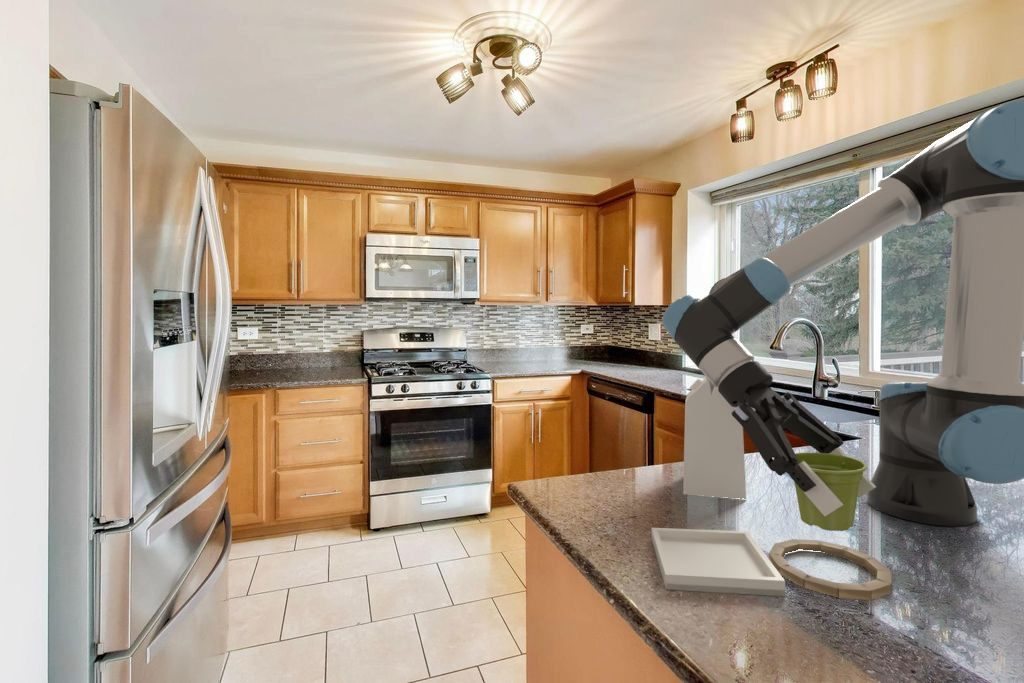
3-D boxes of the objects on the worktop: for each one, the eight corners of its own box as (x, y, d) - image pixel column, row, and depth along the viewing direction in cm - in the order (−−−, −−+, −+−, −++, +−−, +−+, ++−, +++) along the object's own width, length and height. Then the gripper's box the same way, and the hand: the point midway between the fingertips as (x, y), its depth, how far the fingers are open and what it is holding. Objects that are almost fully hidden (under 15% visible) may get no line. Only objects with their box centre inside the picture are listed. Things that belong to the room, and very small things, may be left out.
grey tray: (748, 544, 77) (748, 531, 77) (785, 596, 62) (785, 580, 62) (651, 539, 79) (651, 527, 79) (665, 589, 64) (665, 574, 64)
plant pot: (776, 509, 73) (775, 451, 73) (844, 510, 72) (843, 451, 72) (804, 537, 64) (803, 471, 64) (883, 538, 63) (882, 471, 62)
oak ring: (855, 549, 74) (855, 541, 74) (917, 602, 60) (917, 593, 60) (756, 545, 76) (756, 537, 76) (794, 595, 62) (794, 586, 62)
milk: (746, 500, 95) (745, 366, 94) (683, 494, 99) (681, 365, 98) (742, 481, 106) (741, 360, 105) (685, 476, 110) (684, 360, 109)
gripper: (758, 382, 86) (863, 496, 74) (678, 398, 74) (788, 537, 61) (788, 353, 82) (906, 469, 69) (708, 364, 69) (835, 507, 57)
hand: (851, 501), depth 65 cm, fingers closed on plant pot, 9 cm apart
